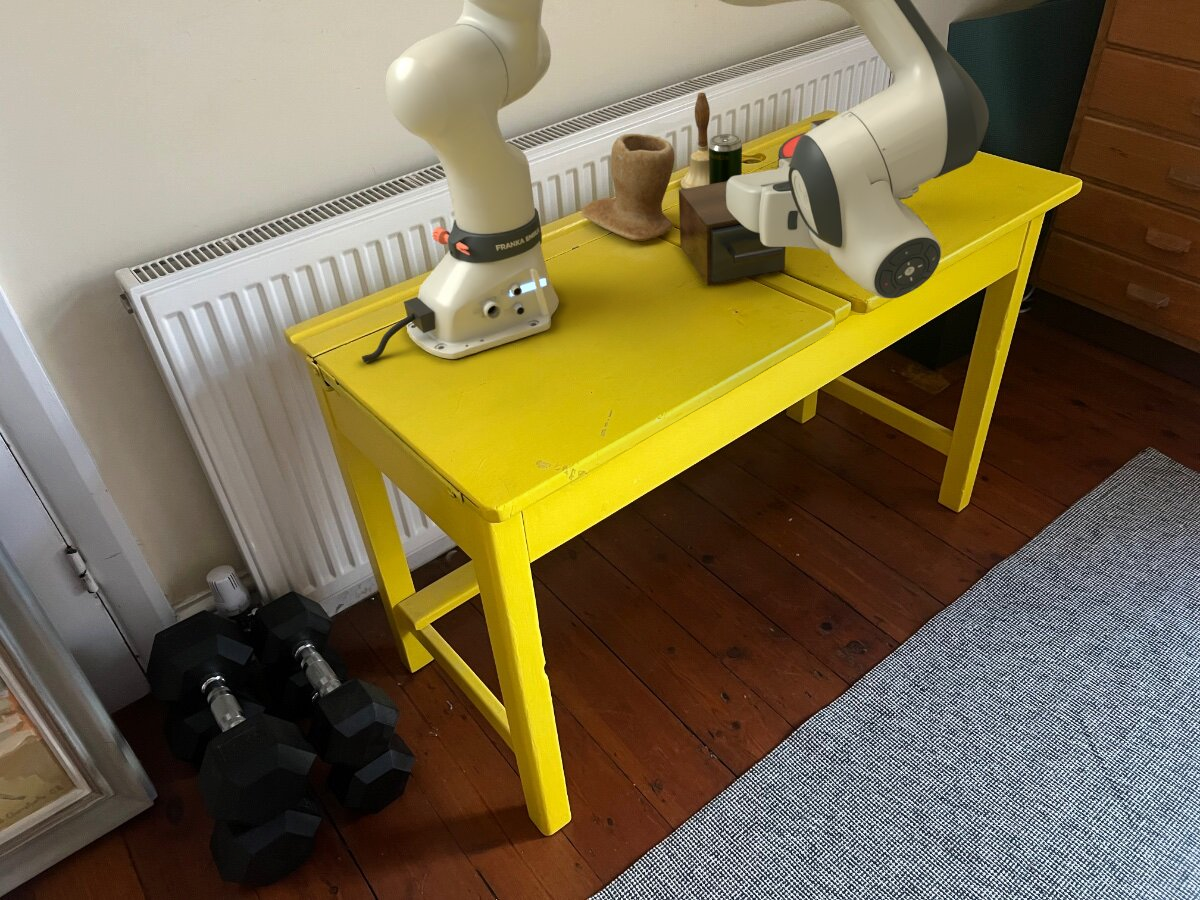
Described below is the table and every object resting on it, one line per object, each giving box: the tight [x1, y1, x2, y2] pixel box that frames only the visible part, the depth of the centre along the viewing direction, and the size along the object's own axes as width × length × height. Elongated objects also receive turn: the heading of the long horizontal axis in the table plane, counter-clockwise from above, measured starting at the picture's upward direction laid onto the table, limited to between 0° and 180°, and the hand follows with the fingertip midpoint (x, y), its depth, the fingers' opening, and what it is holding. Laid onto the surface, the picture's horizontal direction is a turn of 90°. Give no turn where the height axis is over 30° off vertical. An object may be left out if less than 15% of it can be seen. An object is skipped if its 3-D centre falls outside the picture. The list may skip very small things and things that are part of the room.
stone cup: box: [580, 133, 675, 242], centre depth 148 cm, size 15×12×15 cm
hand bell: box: [680, 92, 711, 189], centre depth 159 cm, size 8×8×16 cm
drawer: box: [711, 224, 786, 283], centre depth 134 cm, size 16×11×8 cm, turn 13°
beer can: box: [708, 133, 743, 184], centre depth 151 cm, size 5×5×12 cm
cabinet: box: [678, 181, 787, 286], centre depth 137 cm, size 14×12×10 cm
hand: (789, 163), depth 110 cm, fingers closed
